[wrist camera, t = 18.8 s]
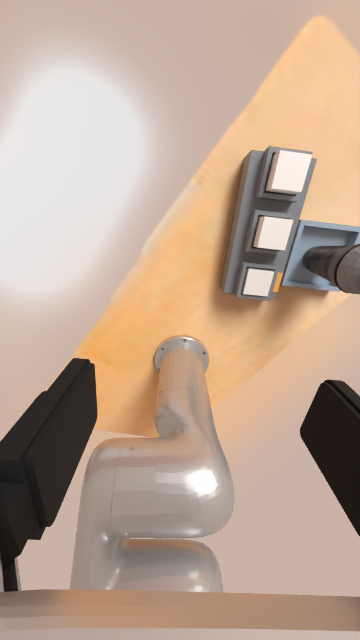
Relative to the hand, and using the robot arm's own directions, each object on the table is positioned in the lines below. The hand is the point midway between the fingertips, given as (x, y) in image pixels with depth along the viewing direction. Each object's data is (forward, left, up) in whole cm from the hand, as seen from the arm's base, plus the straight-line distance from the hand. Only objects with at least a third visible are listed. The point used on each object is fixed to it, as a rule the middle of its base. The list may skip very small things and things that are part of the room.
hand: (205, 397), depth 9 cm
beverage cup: (+4, -25, -36) cm, 44 cm away
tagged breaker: (-1, -13, -32) cm, 35 cm away
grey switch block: (+7, -13, -36) cm, 39 cm away
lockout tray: (+4, -25, -36) cm, 44 cm away
